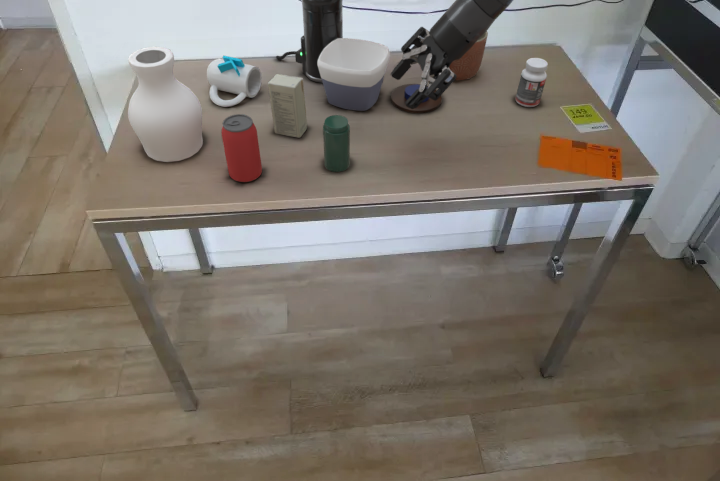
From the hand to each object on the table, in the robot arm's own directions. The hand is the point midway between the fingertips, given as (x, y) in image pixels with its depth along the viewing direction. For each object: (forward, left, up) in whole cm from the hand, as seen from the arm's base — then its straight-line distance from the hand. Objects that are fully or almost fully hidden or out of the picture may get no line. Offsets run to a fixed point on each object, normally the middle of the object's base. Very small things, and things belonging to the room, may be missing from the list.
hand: (401, 91), depth 107 cm
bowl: (-19, +15, -15) cm, 28 cm away
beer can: (-23, -21, -15) cm, 35 cm away
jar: (-9, -9, -15) cm, 20 cm away
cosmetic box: (-24, -4, -15) cm, 28 cm away
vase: (-42, -21, -15) cm, 49 cm away
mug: (-45, +1, -15) cm, 47 cm away
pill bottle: (+17, +35, -15) cm, 41 cm away
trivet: (-6, +22, -15) cm, 27 cm away
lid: (-6, +22, -13) cm, 26 cm away
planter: (-3, +39, -15) cm, 42 cm away
